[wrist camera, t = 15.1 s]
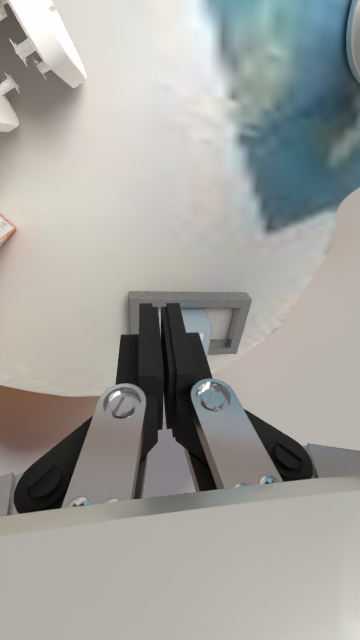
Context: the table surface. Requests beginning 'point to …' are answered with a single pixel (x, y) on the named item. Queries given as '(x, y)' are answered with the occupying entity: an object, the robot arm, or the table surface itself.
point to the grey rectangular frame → (198, 300)
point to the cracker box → (5, 230)
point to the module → (198, 324)
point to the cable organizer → (40, 50)
